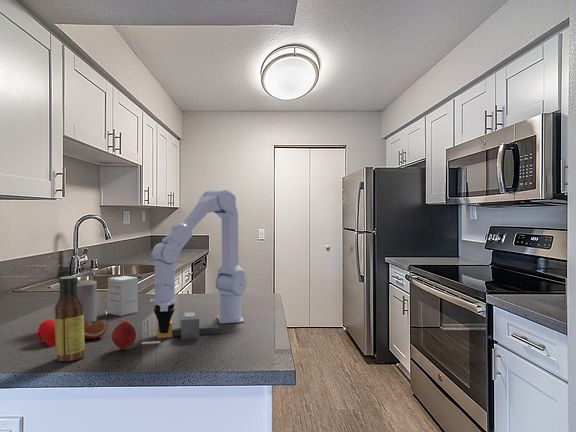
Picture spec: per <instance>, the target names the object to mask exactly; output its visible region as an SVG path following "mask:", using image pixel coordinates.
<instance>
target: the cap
mask: <svg viewBox="0 0 576 432" xmlns="http://www.w3.org/2000/svg"><path fill="white" fill-rule="evenodd" d="M35 333H36V336H37V337H38V343H39V344H41V343H42V338H44V341H45V342H44V343H46V345H48V346H49V347H56V336H55V319H46V320H44V321H42V322H41V323H40V324H39V326H38V331H36V332H35Z"/></svg>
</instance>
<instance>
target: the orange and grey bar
mask: <svg viewBox="0 0 576 432" xmlns="http://www.w3.org/2000/svg"><path fill="white" fill-rule="evenodd" d="M219 331H220V326H219V325H211V326H209V325H208V326H199V336H201V335H213V334H217V335H218V334H219V333H220V332H219ZM173 337H181V328H180V327H175V328H174V327H173V320H170V325H169V330H168V333H160V330H159V325H158V324H157V339H162V338H173Z"/></svg>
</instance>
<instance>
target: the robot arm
mask: <svg viewBox="0 0 576 432" xmlns="http://www.w3.org/2000/svg"><path fill="white" fill-rule="evenodd" d="M209 213H214V214H216V215H217V216H218V217H219V218H220V219H221V265H220V267H219V268H218V270H217V274H216V279H215V288H216V289H217V290H218V293H219V315H218V314H217V316H216V318H217V320H218V323H219V324H231V323H232V324H235V323H245V321H244V320H245V319H244V318H243V317H242V299H243V298H242V295H243V294H244V292H245V290H247V289H246V288H247V279H246V276H245V270H244V269H243V268H242V267H241V266H240V265H239V212H238V209H237V204H236V196H235V194H233V192H232V191H230V190H228V189H223V190H207V191H205V192H204V193H202V195H201V196H200V197H199V199H198V202H197V204H196V205H195V206H194V207H193V209H192V210H191V212H190V213H189V214H188V215H187V217H186V218H185V220H184V221H183V223H176V224H174V225H172V227H171V231H169V233H168V234H167V235H166V236H165V237H163V238H162V240H161V241H162V242H159V243H157V244H155V245H154V247H153V248H152V251H151V252H150V258H151V260H152V261H153V265H154V295H153V297H154V298H152V299H150V300H149V303H150V304H152V303H154V304H155V305H154V308H153V312H154V314H155V317H156V319H157V326H158V325H159V330H160V333H168V330H169V325H170V320H171V319H172V316H173V315H174V312H175V308H174V307H175V303H176V296H175V295H176V294H175V293H176V283H175V282H176V262H177V261H178V260H179V259H180V255H181V251H182V249H183V248H184V246H185V245H186V244H187V243H188V242H189V240H190V239H191V238H192V237H193V230H194V228H196V226H198V224H199V223H200V222H201V221H202V220H203V219H204V218H205V217H206V216H207V215H208V214H209Z"/></svg>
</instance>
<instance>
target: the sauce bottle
mask: <svg viewBox="0 0 576 432" xmlns="http://www.w3.org/2000/svg"><path fill="white" fill-rule="evenodd" d="M77 282H78V276H74V275H71V276H69V275H68V276H62V277H59V278H58V284H59V289H60V291H59V299H58V300H57V302H56V305H55V307H54V310H55V311H54V314H55V315H54V316H55V318H54V321H55V336H56V345H55V354H56V361H58V362H64V363H67V362H74V361H78V360H81V359H82V358H84V356H85V338H84V312H83V307H82V304H81V302H80V300H79V297H78V292H77Z"/></svg>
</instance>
